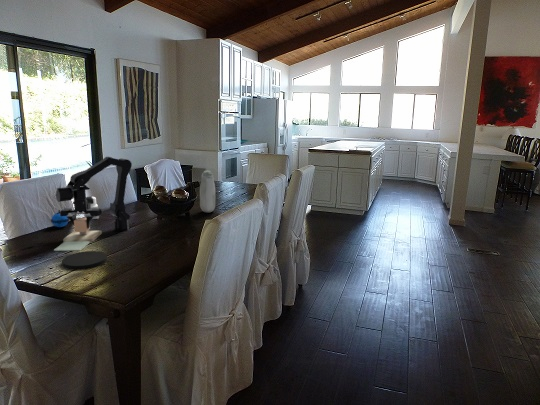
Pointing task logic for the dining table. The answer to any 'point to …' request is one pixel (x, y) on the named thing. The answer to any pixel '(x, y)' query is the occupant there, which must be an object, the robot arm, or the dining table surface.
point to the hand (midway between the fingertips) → (82, 228)
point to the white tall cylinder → (207, 192)
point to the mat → (72, 246)
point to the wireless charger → (84, 260)
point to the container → (92, 205)
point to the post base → (82, 236)
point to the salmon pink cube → (81, 225)
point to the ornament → (59, 220)
